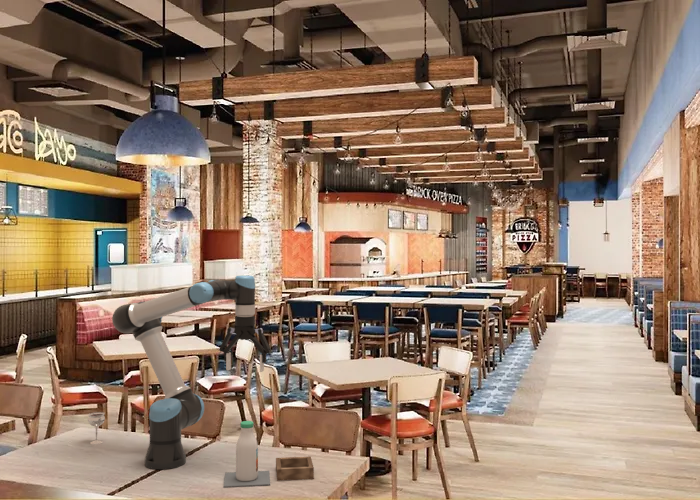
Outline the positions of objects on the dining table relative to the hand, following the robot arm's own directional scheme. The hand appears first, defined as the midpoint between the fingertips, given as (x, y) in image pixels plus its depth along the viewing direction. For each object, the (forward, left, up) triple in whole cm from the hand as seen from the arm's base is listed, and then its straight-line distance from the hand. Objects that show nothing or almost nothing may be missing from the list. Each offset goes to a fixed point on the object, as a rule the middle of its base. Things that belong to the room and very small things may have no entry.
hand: (245, 370), depth 266 cm
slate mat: (+1, -22, -35) cm, 41 cm away
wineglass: (-62, +31, -35) cm, 78 cm away
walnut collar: (+18, -18, -35) cm, 43 cm away
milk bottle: (+1, -22, -34) cm, 41 cm away
